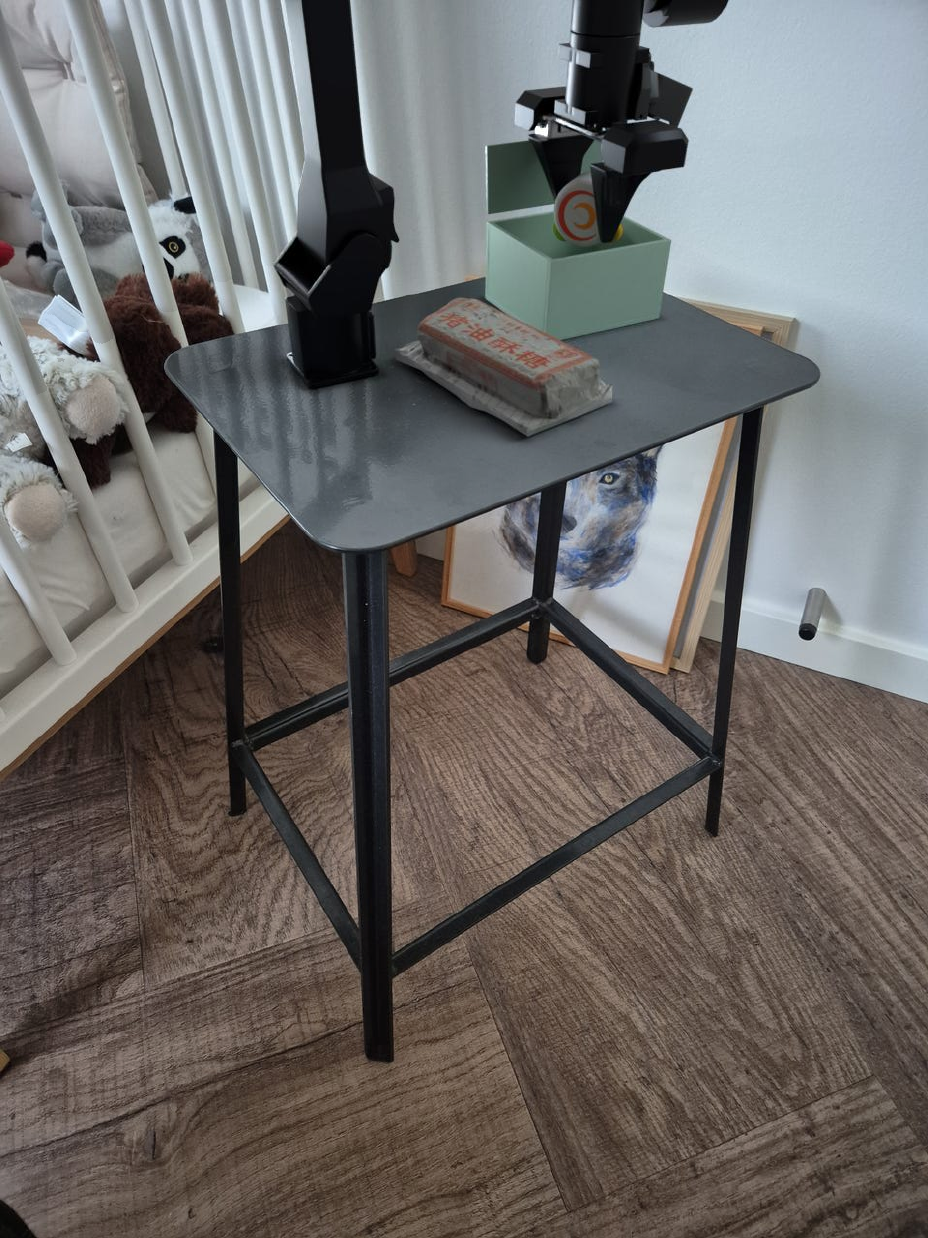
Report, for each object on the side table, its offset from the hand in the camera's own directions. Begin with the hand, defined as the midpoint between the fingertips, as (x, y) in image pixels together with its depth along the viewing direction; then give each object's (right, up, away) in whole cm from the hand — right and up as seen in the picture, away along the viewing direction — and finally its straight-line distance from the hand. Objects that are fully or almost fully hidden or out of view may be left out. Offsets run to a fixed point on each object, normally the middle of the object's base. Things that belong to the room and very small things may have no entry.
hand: (585, 230), depth 82 cm
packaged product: (-8, -16, -6) cm, 19 cm away
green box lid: (-3, +7, +3) cm, 8 cm away
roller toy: (0, -1, +1) cm, 1 cm away
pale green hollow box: (-1, -5, +6) cm, 8 cm away
